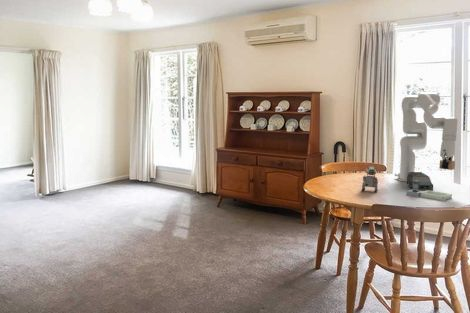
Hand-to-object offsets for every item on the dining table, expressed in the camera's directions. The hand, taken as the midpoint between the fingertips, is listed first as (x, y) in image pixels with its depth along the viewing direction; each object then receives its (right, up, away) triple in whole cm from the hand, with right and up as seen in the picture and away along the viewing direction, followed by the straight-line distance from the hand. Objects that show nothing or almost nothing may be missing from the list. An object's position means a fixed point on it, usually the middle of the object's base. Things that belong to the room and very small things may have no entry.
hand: (446, 167), depth 253 cm
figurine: (-43, -15, +11) cm, 47 cm away
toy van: (-10, -15, +16) cm, 24 cm away
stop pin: (-20, -17, -1) cm, 26 cm away
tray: (-10, -17, -6) cm, 21 cm away
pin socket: (-20, -17, -1) cm, 26 cm away
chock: (0, -1, 0) cm, 1 cm away
